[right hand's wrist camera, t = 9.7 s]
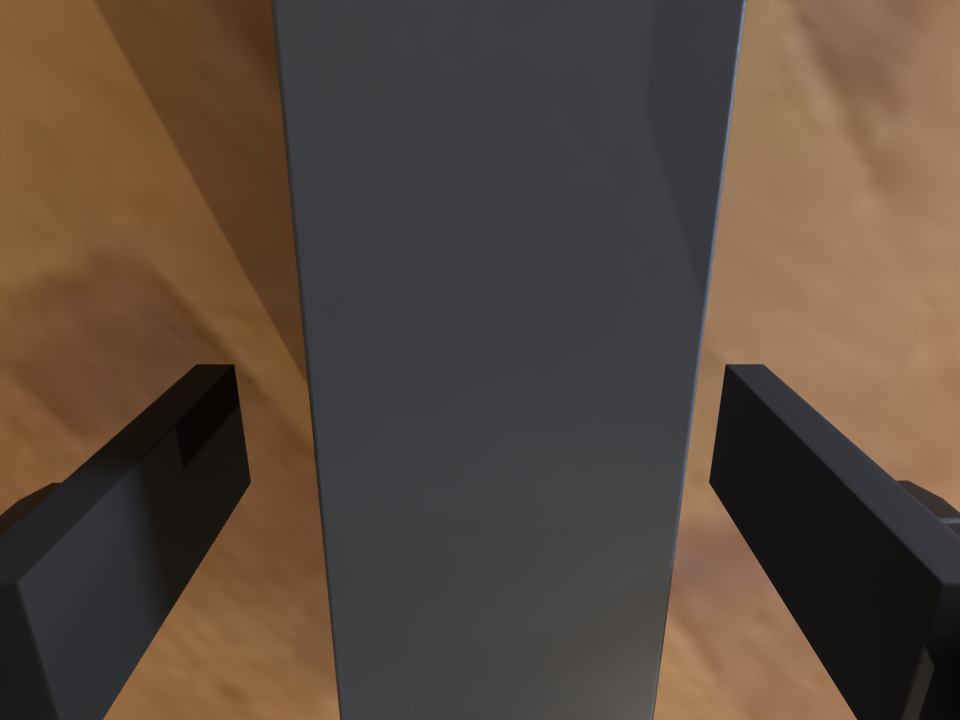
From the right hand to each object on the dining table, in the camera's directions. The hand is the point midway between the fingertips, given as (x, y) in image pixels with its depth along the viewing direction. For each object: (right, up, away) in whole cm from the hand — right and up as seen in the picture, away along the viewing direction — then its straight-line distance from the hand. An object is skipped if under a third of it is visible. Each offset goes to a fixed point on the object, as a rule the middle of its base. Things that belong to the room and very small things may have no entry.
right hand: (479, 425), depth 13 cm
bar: (0, +26, -6) cm, 26 cm away
